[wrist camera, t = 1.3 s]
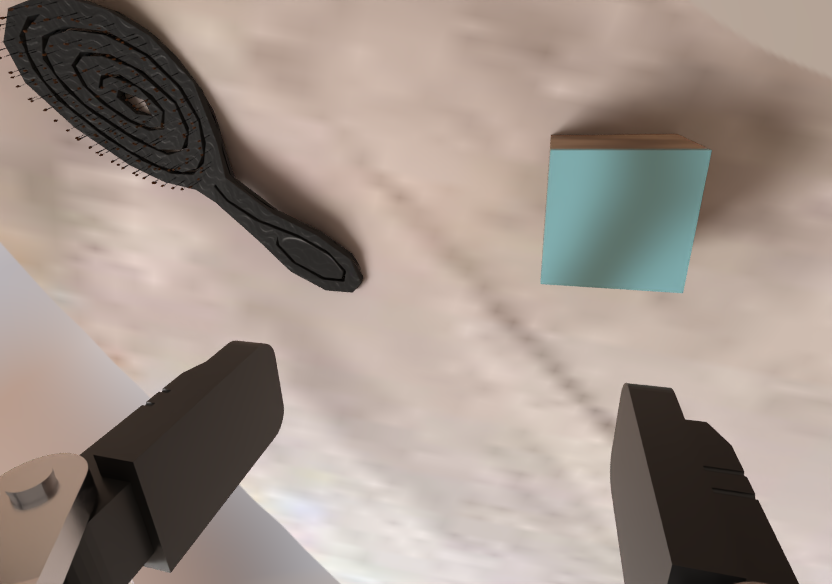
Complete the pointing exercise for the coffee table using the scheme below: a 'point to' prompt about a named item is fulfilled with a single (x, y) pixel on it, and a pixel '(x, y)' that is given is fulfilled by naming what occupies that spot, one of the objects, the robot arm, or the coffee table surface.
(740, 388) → the coffee table surface
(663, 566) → the robot arm
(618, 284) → the two tone block
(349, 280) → the hairbrush
